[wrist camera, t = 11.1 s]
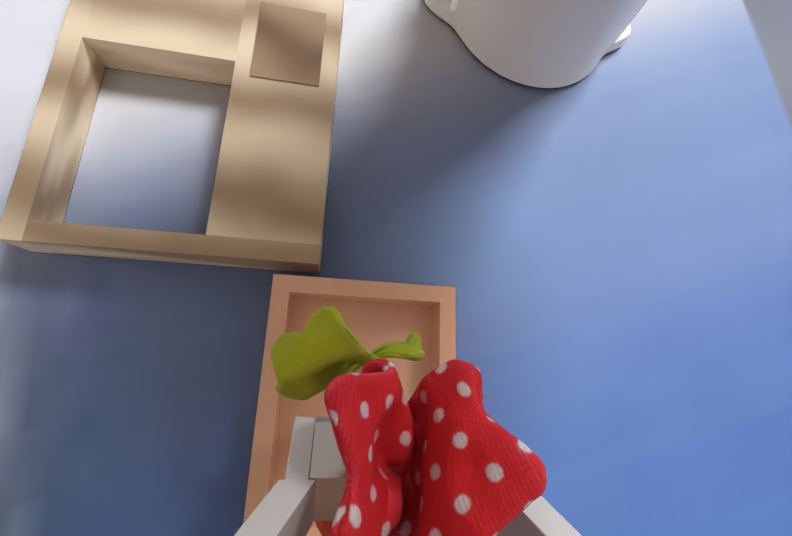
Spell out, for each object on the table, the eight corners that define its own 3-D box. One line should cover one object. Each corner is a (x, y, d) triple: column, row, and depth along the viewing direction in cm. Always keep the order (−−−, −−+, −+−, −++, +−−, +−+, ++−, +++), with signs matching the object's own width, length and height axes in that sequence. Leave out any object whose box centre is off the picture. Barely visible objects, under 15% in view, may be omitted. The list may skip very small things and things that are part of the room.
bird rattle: (392, 455, 19) (413, 282, 17) (567, 756, 9) (654, 411, 7) (261, 479, 16) (273, 278, 15) (303, 933, 6) (351, 468, 5)
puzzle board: (112, -28, 27) (90, -67, 25) (343, 14, 30) (344, -17, 27) (31, 251, 22) (-7, 237, 20) (319, 273, 25) (318, 263, 22)
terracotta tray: (279, 282, 24) (273, 273, 22) (444, 293, 26) (455, 287, 23) (249, 530, 21) (239, 553, 18) (442, 524, 22) (455, 544, 20)
